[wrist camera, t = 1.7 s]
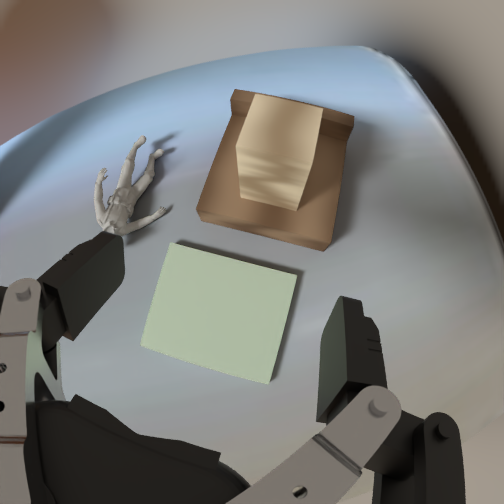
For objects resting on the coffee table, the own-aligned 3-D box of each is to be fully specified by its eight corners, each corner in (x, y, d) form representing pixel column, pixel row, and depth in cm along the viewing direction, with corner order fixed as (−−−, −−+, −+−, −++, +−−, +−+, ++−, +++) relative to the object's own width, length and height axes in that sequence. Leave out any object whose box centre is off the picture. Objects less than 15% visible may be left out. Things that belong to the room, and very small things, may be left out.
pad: (143, 345, 26) (139, 345, 25) (172, 244, 28) (170, 242, 27) (268, 382, 25) (268, 384, 24) (296, 276, 27) (297, 275, 27)
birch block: (240, 197, 26) (235, 145, 18) (255, 151, 27) (255, 93, 20) (296, 211, 26) (312, 163, 18) (306, 164, 27) (323, 108, 19)
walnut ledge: (201, 220, 29) (190, 196, 24) (237, 122, 32) (234, 89, 27) (323, 251, 28) (338, 233, 23) (341, 146, 31) (354, 116, 26)
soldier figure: (186, 165, 32) (153, 257, 25) (162, 185, 35) (129, 271, 28) (131, 124, 27) (78, 211, 21) (111, 149, 30) (63, 233, 24)
